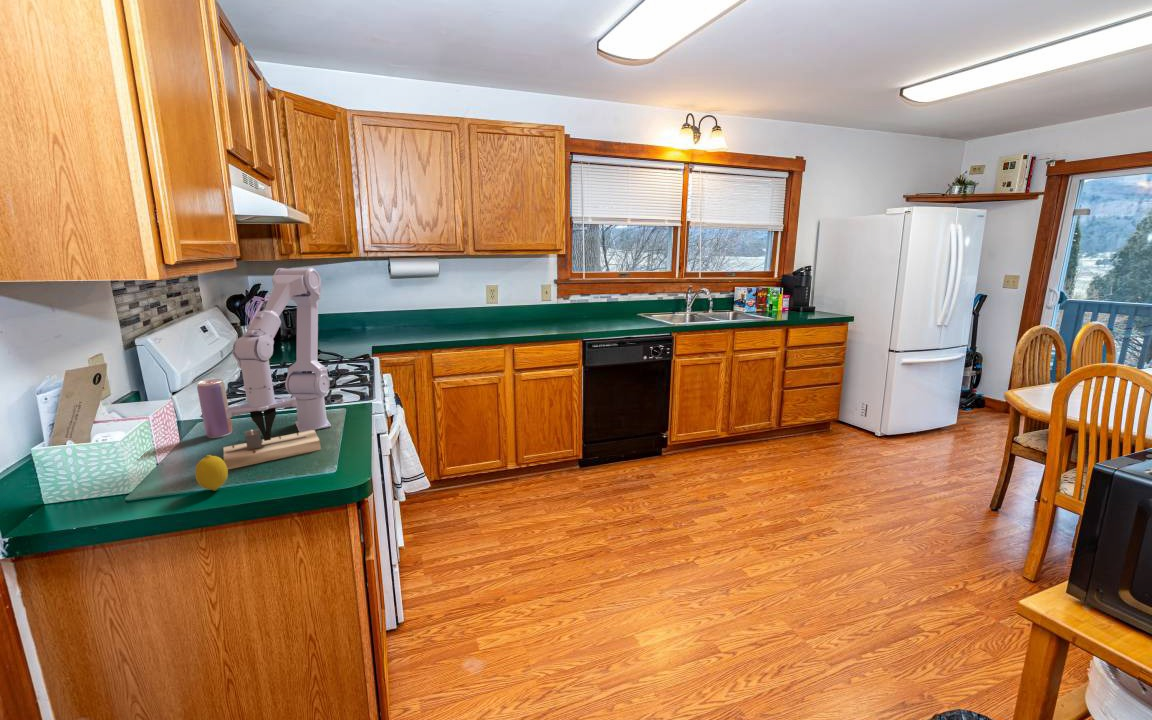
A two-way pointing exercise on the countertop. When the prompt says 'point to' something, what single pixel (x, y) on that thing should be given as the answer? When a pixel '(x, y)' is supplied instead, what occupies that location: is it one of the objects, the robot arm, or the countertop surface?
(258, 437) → the fader
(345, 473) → the countertop surface
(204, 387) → the beverage can
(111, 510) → the countertop surface
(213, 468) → the lemon
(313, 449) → the console
